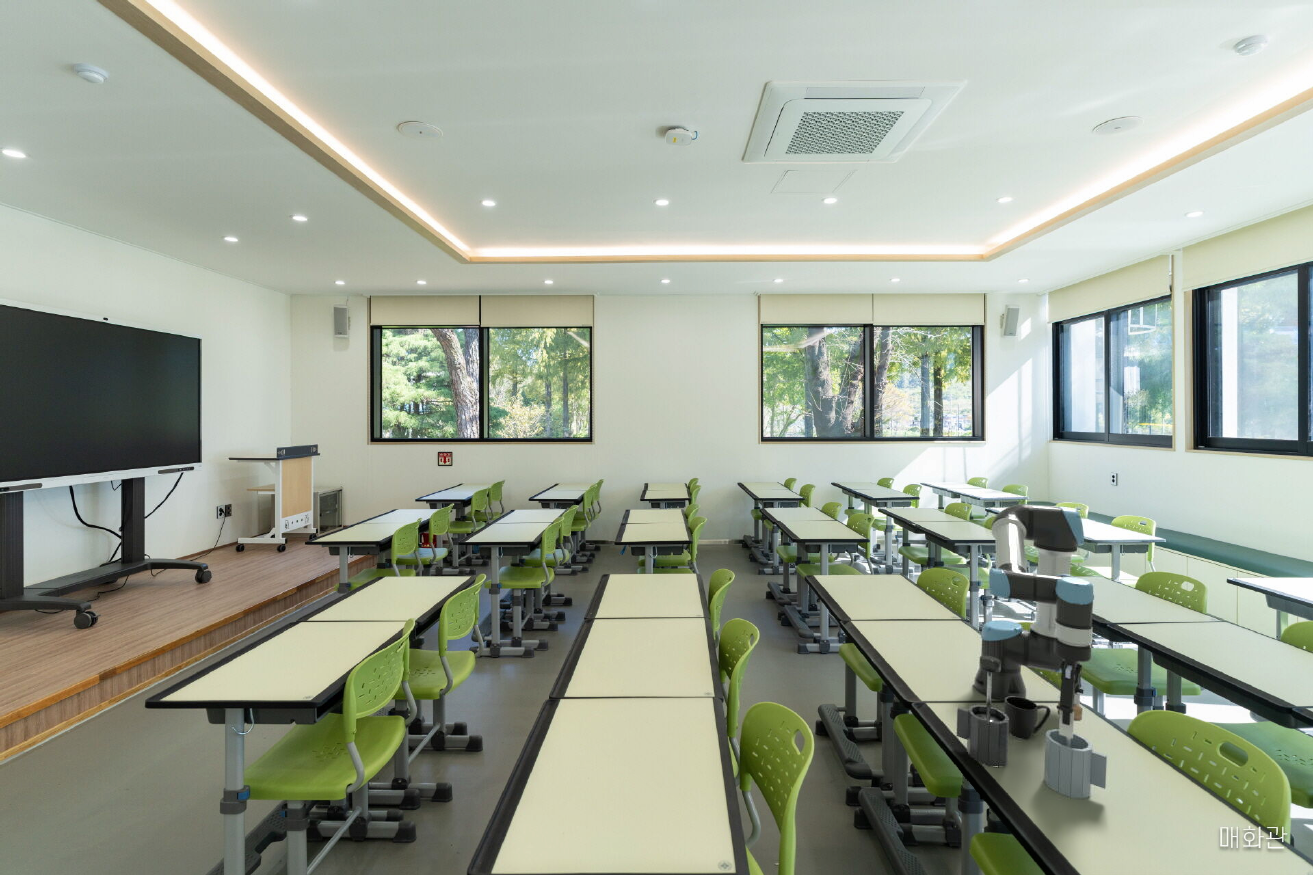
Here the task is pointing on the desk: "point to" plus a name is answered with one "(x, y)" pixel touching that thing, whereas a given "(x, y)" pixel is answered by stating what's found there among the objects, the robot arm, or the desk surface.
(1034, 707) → the mug
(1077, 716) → the stone press plunger
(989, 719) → the black press plunger
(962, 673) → the desk surface
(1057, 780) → the cup
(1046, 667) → the robot arm
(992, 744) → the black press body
